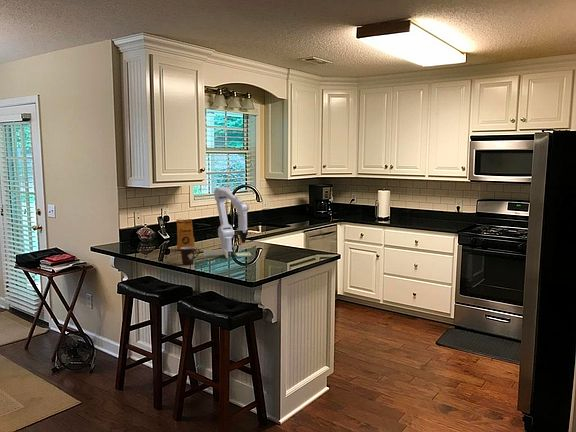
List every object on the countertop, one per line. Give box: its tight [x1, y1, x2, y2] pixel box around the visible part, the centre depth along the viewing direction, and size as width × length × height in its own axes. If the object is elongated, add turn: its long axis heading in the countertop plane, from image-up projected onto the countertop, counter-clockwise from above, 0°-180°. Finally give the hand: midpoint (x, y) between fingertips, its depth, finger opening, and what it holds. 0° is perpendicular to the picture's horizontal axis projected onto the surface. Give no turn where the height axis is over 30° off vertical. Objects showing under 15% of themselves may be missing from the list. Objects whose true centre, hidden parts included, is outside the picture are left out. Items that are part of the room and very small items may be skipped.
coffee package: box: [175, 218, 196, 251], centre depth 331 cm, size 10×12×22 cm
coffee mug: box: [179, 247, 201, 266], centre depth 284 cm, size 12×9×10 cm
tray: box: [235, 251, 252, 258], centre depth 310 cm, size 9×9×1 cm
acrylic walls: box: [203, 249, 229, 259], centre depth 305 cm, size 13×14×4 cm
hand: (243, 242), depth 309 cm, fingers closed on ball, 4 cm apart
